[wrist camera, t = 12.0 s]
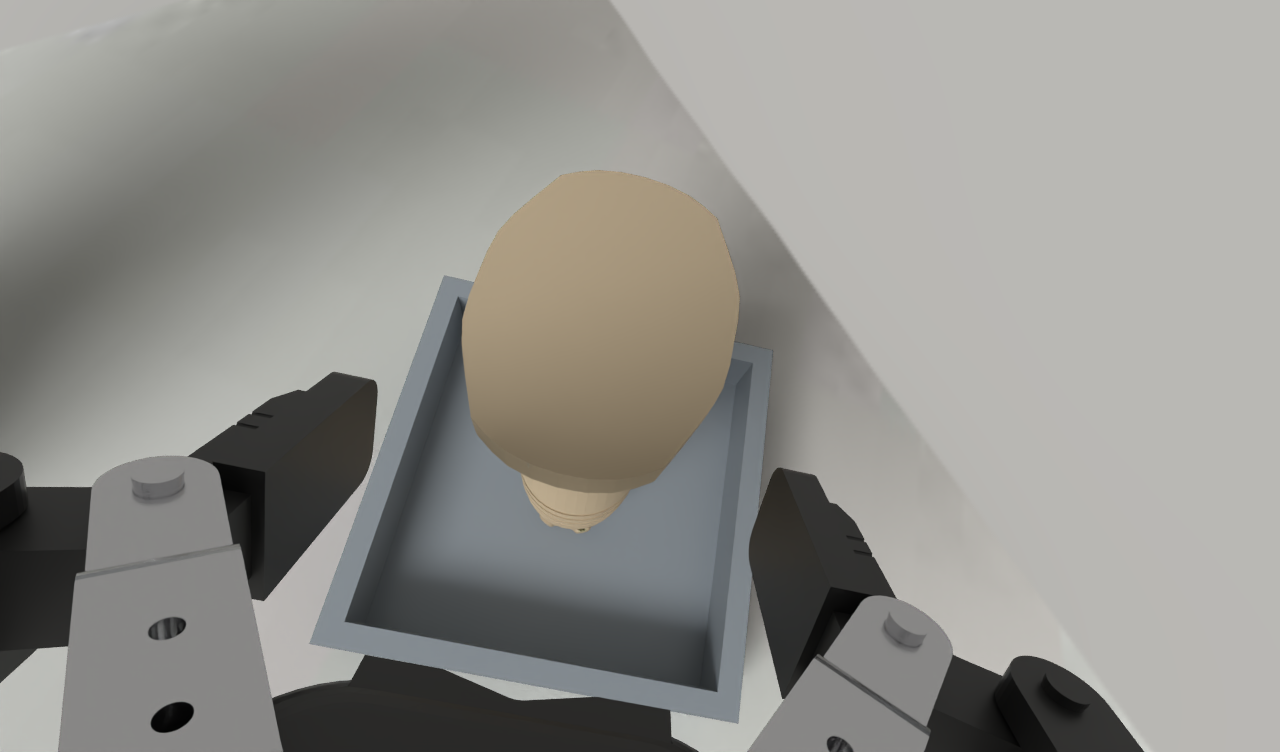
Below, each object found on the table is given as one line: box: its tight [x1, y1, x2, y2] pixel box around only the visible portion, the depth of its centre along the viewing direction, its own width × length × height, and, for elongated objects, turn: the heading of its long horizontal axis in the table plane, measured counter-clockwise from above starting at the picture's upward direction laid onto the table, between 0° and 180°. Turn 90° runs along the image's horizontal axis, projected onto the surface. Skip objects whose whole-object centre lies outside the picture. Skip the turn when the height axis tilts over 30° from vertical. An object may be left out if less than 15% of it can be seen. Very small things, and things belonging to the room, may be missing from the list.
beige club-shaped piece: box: [462, 170, 740, 534], centre depth 18 cm, size 5×6×15 cm
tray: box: [310, 275, 773, 724], centre depth 24 cm, size 14×14×4 cm
